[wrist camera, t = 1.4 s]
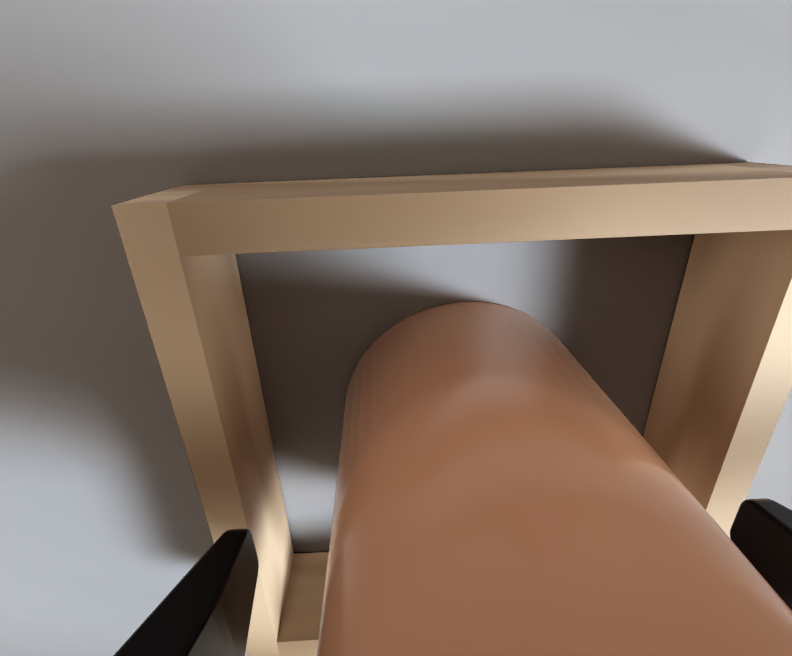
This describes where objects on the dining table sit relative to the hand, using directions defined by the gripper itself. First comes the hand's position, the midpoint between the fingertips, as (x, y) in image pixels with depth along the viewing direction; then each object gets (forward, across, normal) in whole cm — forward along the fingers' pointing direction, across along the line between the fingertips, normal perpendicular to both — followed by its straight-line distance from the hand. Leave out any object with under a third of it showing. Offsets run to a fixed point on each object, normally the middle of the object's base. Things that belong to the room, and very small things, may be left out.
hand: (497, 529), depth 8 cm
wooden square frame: (+4, 0, 0) cm, 4 cm away
